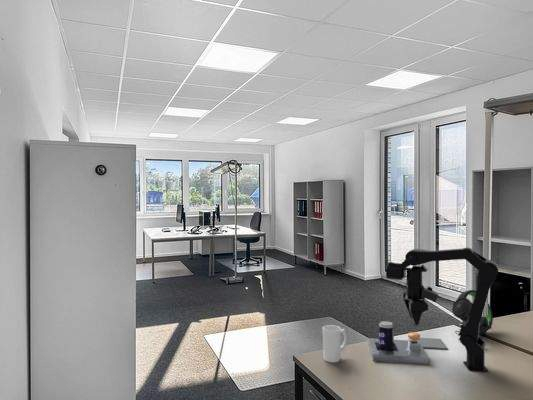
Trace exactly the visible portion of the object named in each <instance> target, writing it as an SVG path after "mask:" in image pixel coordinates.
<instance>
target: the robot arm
mask: <svg viewBox="0 0 533 400" xmlns="http://www.w3.org/2000/svg"><path fill="white" fill-rule="evenodd" d="M454 260H455V261H456V260H466V261H467V262H468V263H469V264H471V266H473V268H474V269H476V270H478V285H477V288H476V291H477V292H476V295H475V298H474V299H473V302H472V303H473V306H472V309H471V313H470V316H469V319H468V320H467V322H465V321H462V320H461V321H462V322H461V324H460V329H459V330H458V331H459V332H458V333H457V336H458V337H459V338H460V340H459V341H460V343H461V344H462V346H463V347H464V348H465V350H466V360H465V361H464V360H463V361H462V362H463V364H464V366H465V367H466V368H467V370H469V371H471V372H488V373H489V369H488V367H487V366H486V365H485V361H486V360H485V359H486V358H485V348H486V347H485V346H486V341H484V339H482V338H480V337H481V336H480V337H479V324H480V320H481V317H483V316H482V315H483V314H484V312H483V309H484V306H485V302H486V300H487V298H488V295H489V292H490V288H491V287H492V285H493V284H494V282H495V280H496V278H497V277H498V274H499V265H498V264H497V262H496V261H494V260H492V259H487V258H485V257H484V256H483V255H481V254H479V253H477V252H476V251H474V250H473V248H471V247H467V246H466V247H463V248H454V249H453V248H452V249H451V248H450V249H440V250H439V249H436V250H429V249H428V250H427V249H421V248H420V249H418V248H414V249H411V250H409V251H408V252H407V253H405V259H404V260H403V261H402V262H401V263H400V262H393V261H389V262H387V267H386V271H385V276H386V279H388V280H395V281H396V280H397V281H403V279H406V282H405V286H406V289H404V290H402V292H401V298H402V300H403V303H404V305H405V307H406V310H407V312H408V315H409V317H410V319H412V320H413V323H414V325H415V326H419V324H420V320H421V317H422V314H423V313H424V312H427V311H429V304H428V303H427V302H426V301H425V299H427V300H429V301H432V302H433V303H437V301H438V300H437V299H438V298H439V294H438V293H437V292H436V291H434V290H433V287H431V286H428V285H427V286H426V287H425V286H424V285H423V273H426V272H428V271H429V269H428V268H427V267H426V266H425V265H424V264H427V263H431V262H443V261H454ZM420 265H421V266H420ZM411 266H412V267H411Z"/></svg>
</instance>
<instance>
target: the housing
mask: <svg viewBox="0 0 533 400" xmlns="http://www.w3.org/2000/svg"><path fill="white" fill-rule="evenodd" d="M368 347H369V351H370V355H371V358H372V361H373V362H385V363H386V362H387V363H399V364H401V363H402V364H416V365H417V363H418V365H429V364H430V357H429V355H428V353H427V351H426V350H425V348H423V347H422V346H421V344H420V342H419V341H418V340H416V342H412V340H411V339H394V350H395V351H381V350H379V338H372V337H370V338H368Z"/></svg>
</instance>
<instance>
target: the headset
mask: <svg viewBox="0 0 533 400" xmlns="http://www.w3.org/2000/svg"><path fill="white" fill-rule="evenodd" d="M476 292H477V290H475V289H470V290H465V291H462V292H461V293H460V294H459V295H458V297H457V299H456V300H455V301H454V303H453V304H452V307H451V308H452V310H451V311H452V314H453V316H454V317H456V318H458V319H459V320H460V321H465V322H467V320H468V319H469V316H470V313H471V309H472V306H473V302H472V301H471V300H470V299H469V298H468V297H469V296H471V297H474V299H475V295H476ZM493 320H494V316H493V311H492V308H491V306H490V304H489V303H488V315H487V317H485V316H481V320H480V324H479V337H480V338H481V337H482V335H484V334H486V333H487V332H489V330H492V326H493V322H494V321H493ZM459 331H460V330H456V331H455V332H454V333H455V334H456V335H458V333H459ZM481 339H482V338H481ZM458 341H460V337H459V338H458Z"/></svg>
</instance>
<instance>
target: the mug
mask: <svg viewBox="0 0 533 400" xmlns="http://www.w3.org/2000/svg"><path fill="white" fill-rule="evenodd" d="M341 334H342V335H343V339H344V340H343V342H342V345H341ZM347 342H348V336H347V333H346V329H345V328H341V327H340V326H337V325H334V324H327V325H324V326H322V352H323V360H324V361H326V362H327V363H332V364H333V363H338V362H340V360H341V351H345V348H346V345H347Z"/></svg>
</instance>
